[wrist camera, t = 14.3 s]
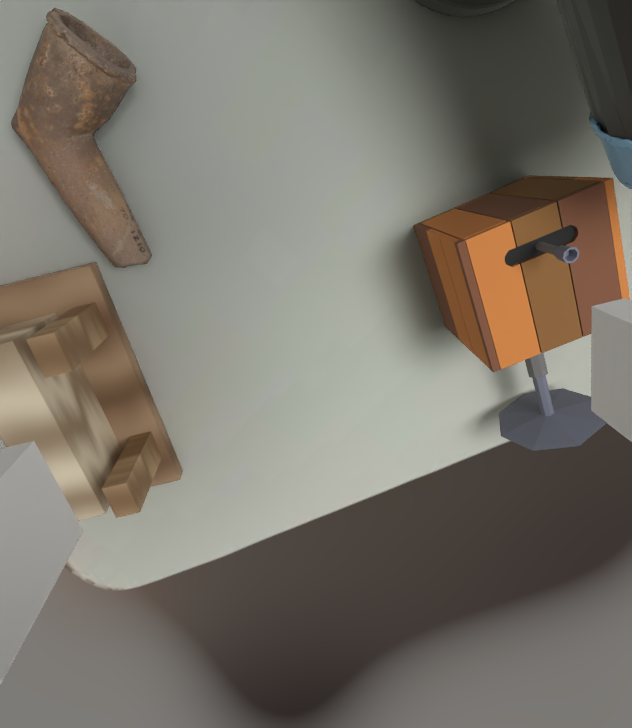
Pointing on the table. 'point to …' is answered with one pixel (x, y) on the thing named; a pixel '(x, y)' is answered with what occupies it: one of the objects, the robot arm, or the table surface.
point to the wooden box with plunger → (529, 288)
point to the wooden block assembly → (97, 372)
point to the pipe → (80, 129)
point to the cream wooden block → (56, 420)
